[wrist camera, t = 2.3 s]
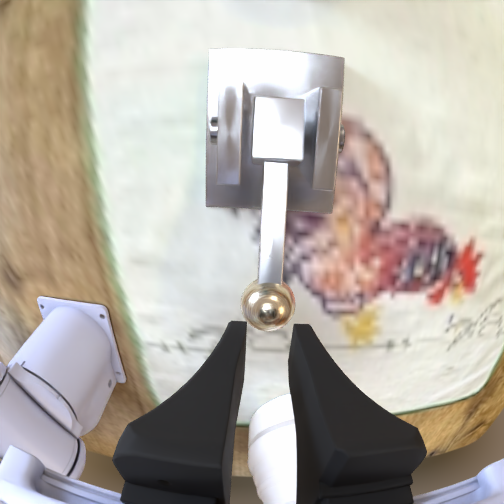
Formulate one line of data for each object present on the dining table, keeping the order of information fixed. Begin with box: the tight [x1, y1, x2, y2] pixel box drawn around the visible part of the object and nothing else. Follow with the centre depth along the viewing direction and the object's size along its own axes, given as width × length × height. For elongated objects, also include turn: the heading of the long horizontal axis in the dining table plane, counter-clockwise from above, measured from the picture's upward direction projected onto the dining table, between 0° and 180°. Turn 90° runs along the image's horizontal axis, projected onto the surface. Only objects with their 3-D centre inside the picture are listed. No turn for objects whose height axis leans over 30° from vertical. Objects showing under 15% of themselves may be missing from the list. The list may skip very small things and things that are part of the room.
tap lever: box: [241, 96, 305, 331], centre depth 14 cm, size 11×3×3 cm, turn 177°
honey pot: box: [247, 394, 297, 504], centre depth 22 cm, size 13×13×18 cm
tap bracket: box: [206, 49, 345, 213], centre depth 15 cm, size 10×8×7 cm
